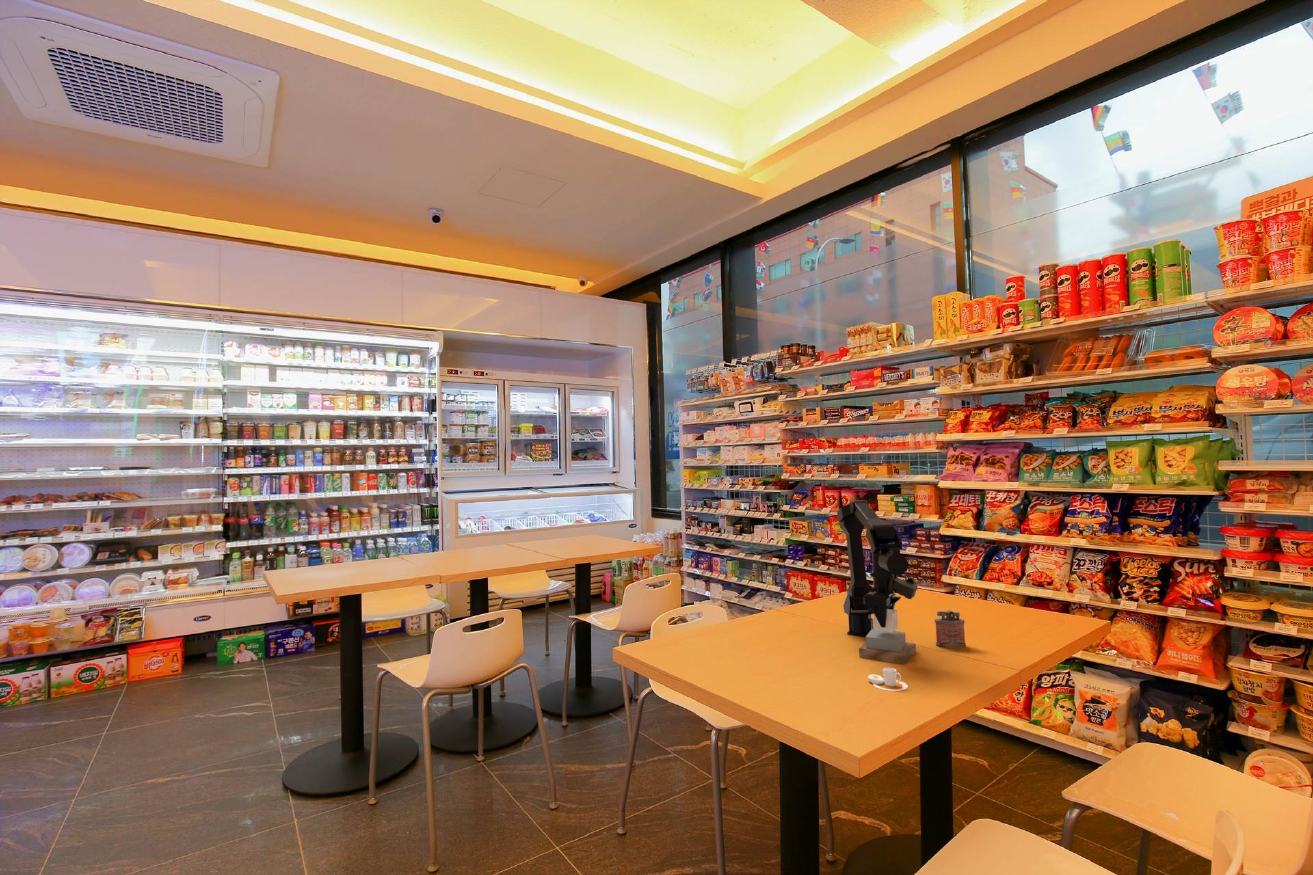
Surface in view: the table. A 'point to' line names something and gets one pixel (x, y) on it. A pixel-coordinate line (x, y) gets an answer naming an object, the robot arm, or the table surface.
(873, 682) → the teacup and saucer
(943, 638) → the lighter
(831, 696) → the table surface
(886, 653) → the base block
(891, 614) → the cube
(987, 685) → the table surface
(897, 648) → the top block
